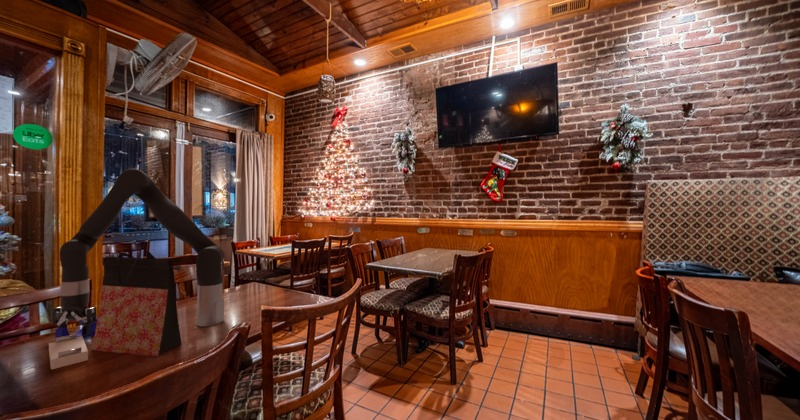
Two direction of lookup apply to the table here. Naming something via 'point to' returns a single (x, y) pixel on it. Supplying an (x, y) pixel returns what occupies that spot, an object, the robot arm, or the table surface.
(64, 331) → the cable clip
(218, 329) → the table surface
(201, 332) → the table surface
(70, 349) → the white slotted block
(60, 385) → the table surface
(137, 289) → the gift bag
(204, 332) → the table surface
